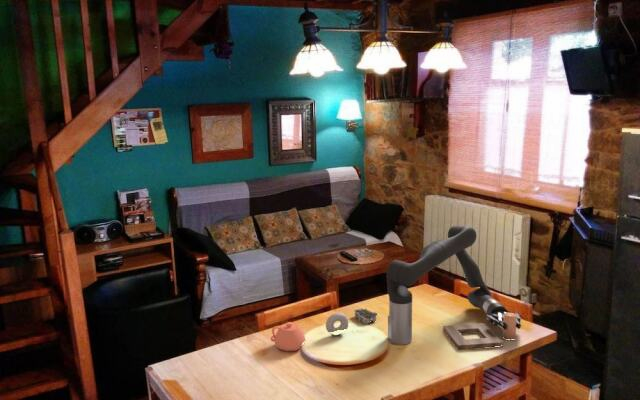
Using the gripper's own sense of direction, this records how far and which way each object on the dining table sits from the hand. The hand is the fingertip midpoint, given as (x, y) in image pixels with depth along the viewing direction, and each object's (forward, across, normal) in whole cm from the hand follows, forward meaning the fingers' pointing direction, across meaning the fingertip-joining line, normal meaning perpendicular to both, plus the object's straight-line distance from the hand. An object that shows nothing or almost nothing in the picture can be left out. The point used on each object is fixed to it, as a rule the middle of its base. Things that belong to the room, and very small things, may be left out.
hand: (512, 326), depth 210 cm
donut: (-16, -69, +6) cm, 71 cm away
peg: (-3, 0, +6) cm, 7 cm away
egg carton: (-30, -54, +6) cm, 62 cm away
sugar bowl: (-9, -90, +6) cm, 91 cm away
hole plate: (-5, -15, +6) cm, 17 cm away
